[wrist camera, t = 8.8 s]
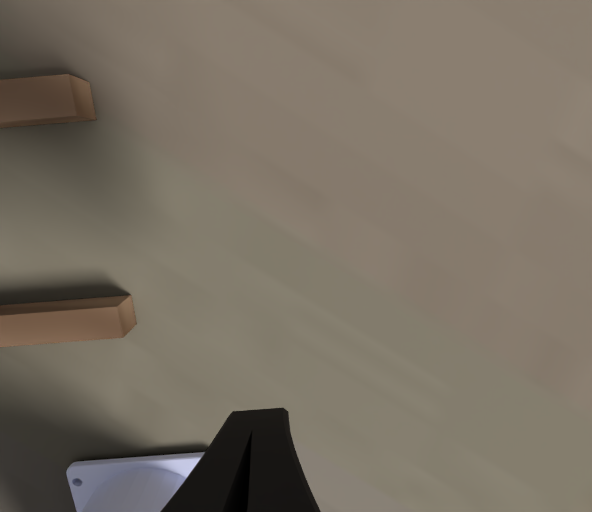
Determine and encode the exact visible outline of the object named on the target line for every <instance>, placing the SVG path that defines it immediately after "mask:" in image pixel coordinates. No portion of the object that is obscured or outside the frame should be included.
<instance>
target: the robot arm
mask: <svg viewBox="0 0 592 512" xmlns="http://www.w3.org/2000/svg"><path fill="white" fill-rule="evenodd" d="M66 475H67V478H68V482H69V486H70V489H71V493H72V496H73V500H74V504H75V507H76V511H77V512H320V509H319V507H318V505H317V503H316V501H315V499H314V497H313V494H312V492H311V490H310V487H309V485H308V483H307V480H306V478H305V475H304V473H303V470H302V467H301V465H300V462H299V459H298V457H297V454H296V451H295V448H294V444H293V440H292V437H291V433H290V425H289V415H288V411H287V410H285V409H284V408H273V409H260V410H247V411H233V412H232V413H231V414H230V415H229V417H228V418H227V420H226V421H225V423H224V424H223V426H222V427H221V429H220V431H219V432H218V434H217V435H216V437H215V438H214V440H213V441H212V443H211V444H210V446H209V447H208V449H207V450H206V452H199V453H185V454H172V455H158V456H145V457H131V458H118V459H104V460H91V461H77V462H73V463H72V464H71V465H70V466H69V468H68V469H67V471H66ZM78 478H79V479H81V480H79V479H78Z"/></svg>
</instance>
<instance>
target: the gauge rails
mask: <svg viewBox="0 0 592 512" xmlns="http://www.w3.org/2000/svg"><path fill="white" fill-rule="evenodd" d="M91 120H97V119H96V114H95V109H94V104H93V99H92V94H91V89H90V83H89V82H87V81H85V80H82V79H80V78H77V77H75V76H72V75H70V74H62V75H50V76H38V77H26V78H14V79H2V80H0V128H6V127H18V126H30V125H42V124H54V123H67V122H79V121H91ZM136 324H137V322H136V317H135V312H134V307H133V302H132V297H131V295H125V296H113V297H100V298H87V299H74V300H61V301H49V302H36V303H23V304H10V305H0V347H8V346H21V345H34V344H47V343H60V342H73V341H86V340H99V339H112V338H123V337H124V336H125V335H126V334H127V333H128V332H129V331H130V330H131V329H132V328H133V327H134V326H135V325H136Z"/></svg>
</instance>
